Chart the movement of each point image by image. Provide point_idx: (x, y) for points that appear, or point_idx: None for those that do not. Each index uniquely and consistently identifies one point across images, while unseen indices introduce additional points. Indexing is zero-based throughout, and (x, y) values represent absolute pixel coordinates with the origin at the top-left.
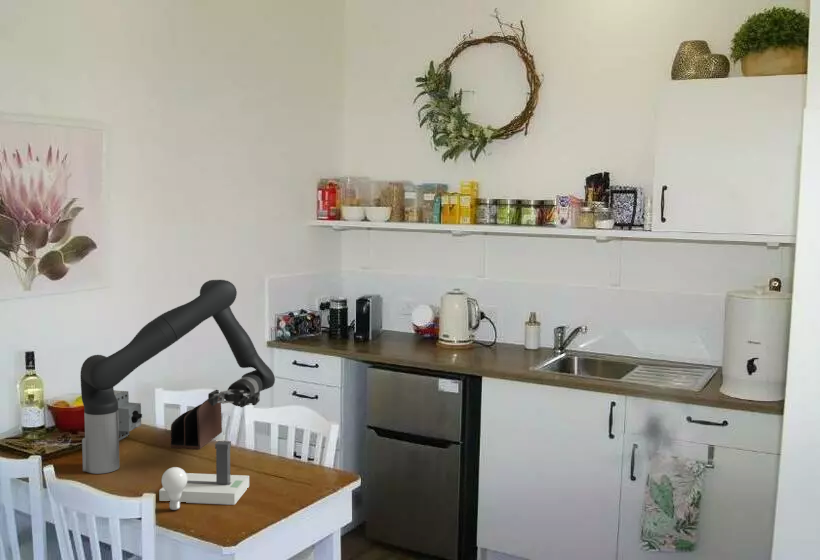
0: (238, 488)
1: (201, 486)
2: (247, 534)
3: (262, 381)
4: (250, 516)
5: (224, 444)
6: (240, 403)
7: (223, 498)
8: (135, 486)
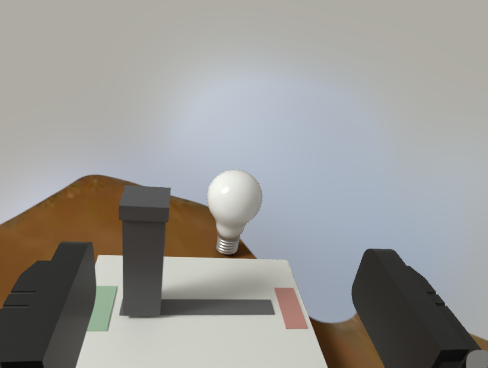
0: None
1: (200, 285)
2: (63, 191)
3: None
4: (57, 236)
5: (137, 186)
6: (91, 263)
7: None
8: None
